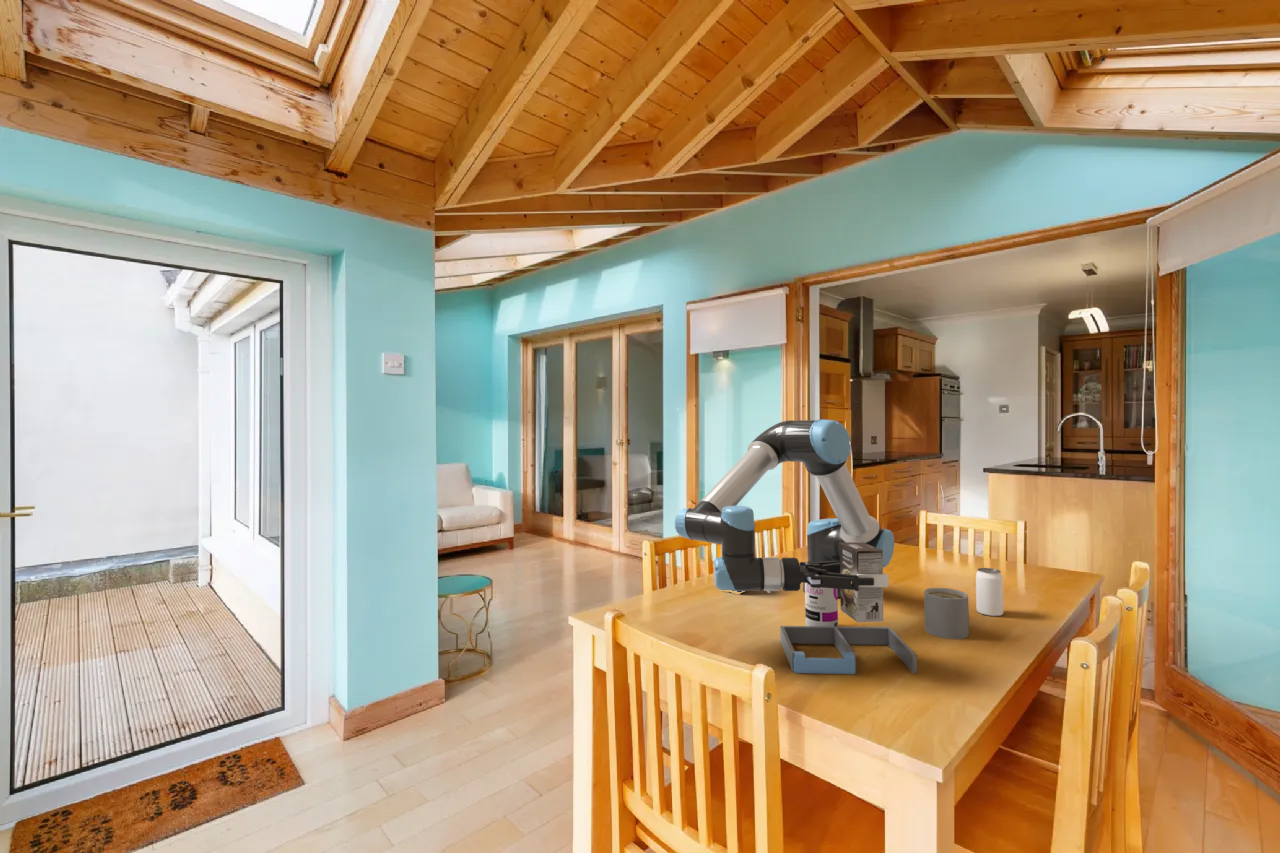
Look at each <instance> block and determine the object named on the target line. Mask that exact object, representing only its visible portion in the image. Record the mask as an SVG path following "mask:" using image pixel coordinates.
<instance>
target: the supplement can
mask: <svg viewBox="0 0 1280 853" xmlns="http://www.w3.org/2000/svg"><path fill="white" fill-rule="evenodd" d="M804 599H805V600H804V602H805V604H804V608H805V609H804V610H805V626H836V627H839V606H838V604H839V603H838V602H839V601H838V600H839V598H838V595H837V589H835V588H822V587H821V588H812V587H811V585H809V584H808V583H805V592H804Z"/></svg>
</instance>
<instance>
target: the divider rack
mask: <svg viewBox="0 0 1280 853" xmlns="http://www.w3.org/2000/svg"><path fill="white" fill-rule="evenodd" d="M779 628H780V629H779V630H780V631H779V633H780V634H779V635H780V639H779V640H780V644H781V646H783V647H782V650H783V652H784V654H785V656H786V657H785V658H786V659H787V661H788V664H789V667H790V669H791V671H792V672H794V673H795V674H828V675H831V674H832V675H833V674H834V675H856V673H857V665H856V664H857V663H856V657H857V656H856V653H855V651H854V650H853V648H852V647H851V645H864V646H866V645H869V646H888V647H890V649H891V650H892V651H893V652H894V653H895V654H896V656H898V658H899V659H900V660H901V661H902V662H903V663H904V665H905V666H906V667H907V668H908V670H910V672H911V673H912V674H918V655H917V653H916V652H915V651H914V650H913V649H912V648H910V647H909V645H908V644H907V643H906V642H905V641H904V640H903V639H902V638H901V637H900V636H899V635H898V634H897V633H896V631H894V630H893V629H892V628H891V627H890V626H838V627H836V626H806V625H780V626H779ZM791 643H798V644H799V645H801V644H802V645H803V644H804V645H834V646H835V648H836V650H838V653H839V654H840V656H841V657H806V654H805V652H804V651H801V650H800V651H799V650H798V651H796V650H795V649H794V646H793V644H791Z"/></svg>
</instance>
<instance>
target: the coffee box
mask: <svg viewBox="0 0 1280 853" xmlns="http://www.w3.org/2000/svg"><path fill="white" fill-rule="evenodd" d="M839 548H840V574H848V575H857V574H884V568H883V550H880V549H878V548H875V547H873V546H871V545H869V544H866V543H864V542H861V543H856V542H846V543H839ZM851 584H852V581H851ZM839 599H840V601H839V602H840V611H841V612H843V613H844V614H846V616H848V617H850V618H851V619H853V620H854V621H855V622H856V623H857V624H858V623H875V622H876V623H877V622H879V623H880V622H881V623H882V622H884V587H859V591H855V590H848V589H840V598H839Z"/></svg>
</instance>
